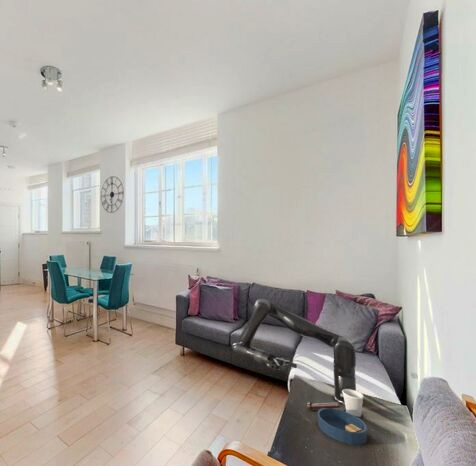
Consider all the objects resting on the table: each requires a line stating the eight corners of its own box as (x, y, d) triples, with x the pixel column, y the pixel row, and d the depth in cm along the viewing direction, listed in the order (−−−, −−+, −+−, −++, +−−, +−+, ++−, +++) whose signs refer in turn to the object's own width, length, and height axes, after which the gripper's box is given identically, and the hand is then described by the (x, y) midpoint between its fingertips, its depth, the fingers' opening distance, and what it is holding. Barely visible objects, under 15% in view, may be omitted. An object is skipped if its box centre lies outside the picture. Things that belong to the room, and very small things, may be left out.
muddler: (310, 402, 143) (340, 400, 133) (312, 410, 141) (343, 409, 131) (306, 401, 142) (336, 400, 131) (308, 410, 140) (339, 409, 129)
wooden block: (352, 432, 123) (351, 423, 123) (362, 438, 120) (361, 429, 120) (345, 435, 122) (345, 425, 122) (355, 441, 118) (355, 431, 118)
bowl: (329, 415, 137) (328, 403, 137) (374, 436, 122) (373, 423, 122) (310, 427, 128) (310, 415, 128) (356, 452, 113) (355, 438, 113)
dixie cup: (339, 411, 139) (338, 391, 139) (347, 406, 143) (346, 387, 143) (359, 421, 132) (358, 399, 132) (368, 415, 136) (367, 394, 136)
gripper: (256, 353, 159) (284, 364, 145) (271, 348, 166) (299, 358, 152) (256, 367, 159) (284, 378, 145) (271, 361, 166) (299, 371, 152)
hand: (291, 368), depth 149 cm, fingers open, 8 cm apart
